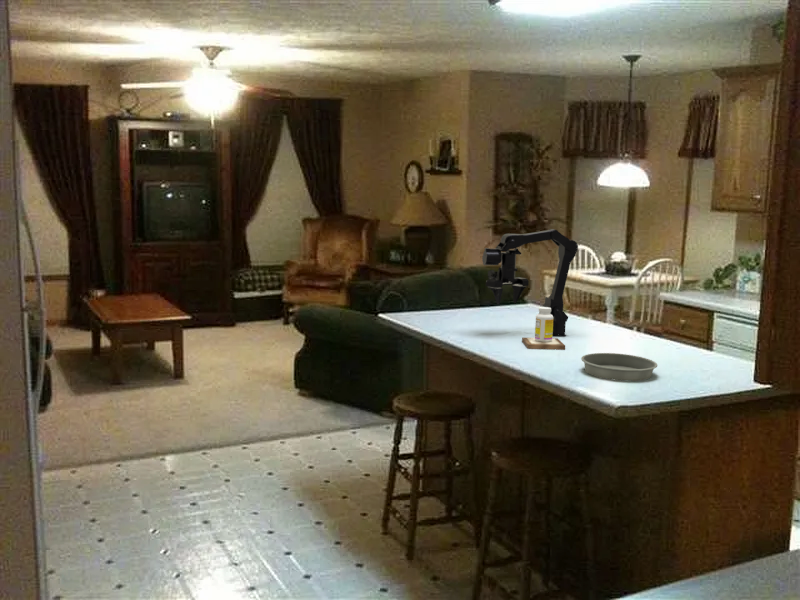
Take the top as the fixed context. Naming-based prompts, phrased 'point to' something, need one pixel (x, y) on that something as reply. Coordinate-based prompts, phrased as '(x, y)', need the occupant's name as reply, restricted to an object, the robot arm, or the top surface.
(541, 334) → the supplement bottle
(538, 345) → the brown square tray
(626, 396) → the top surface
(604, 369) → the cake pan
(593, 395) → the top surface
